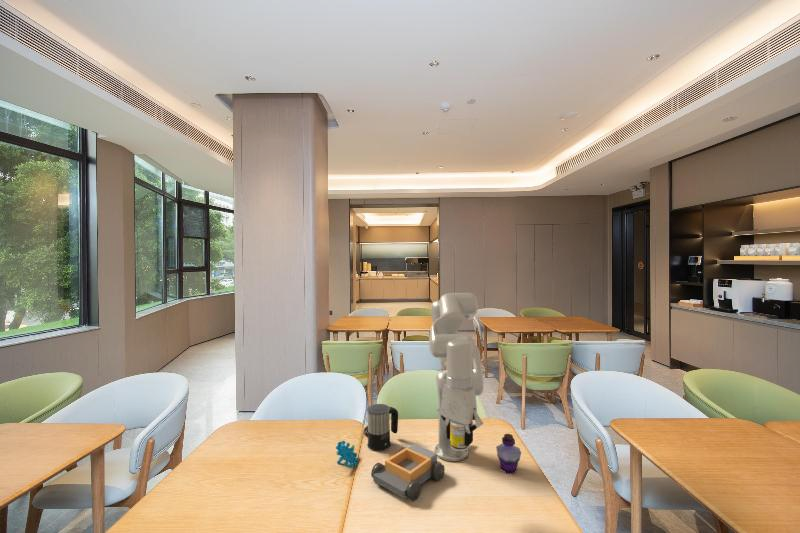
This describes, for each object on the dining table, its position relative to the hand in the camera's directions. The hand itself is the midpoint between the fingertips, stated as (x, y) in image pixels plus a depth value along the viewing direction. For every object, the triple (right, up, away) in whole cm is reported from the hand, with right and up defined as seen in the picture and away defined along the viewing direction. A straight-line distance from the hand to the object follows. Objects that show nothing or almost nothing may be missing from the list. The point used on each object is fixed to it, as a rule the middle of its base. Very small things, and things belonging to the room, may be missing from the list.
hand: (459, 440), depth 110 cm
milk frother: (-28, -18, +38) cm, 51 cm away
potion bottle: (+20, -19, +18) cm, 33 cm away
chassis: (-15, -19, +12) cm, 27 cm away
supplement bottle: (0, -2, 0) cm, 2 cm away
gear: (-37, -19, +22) cm, 47 cm away
